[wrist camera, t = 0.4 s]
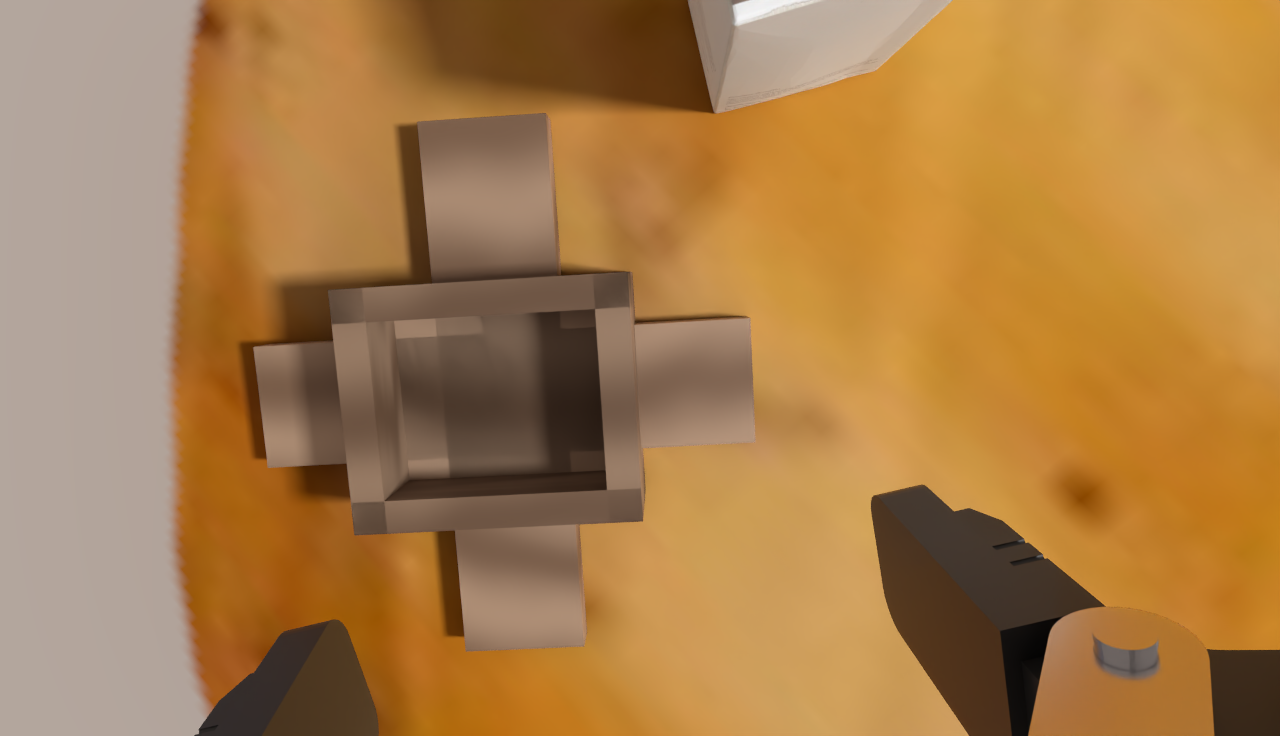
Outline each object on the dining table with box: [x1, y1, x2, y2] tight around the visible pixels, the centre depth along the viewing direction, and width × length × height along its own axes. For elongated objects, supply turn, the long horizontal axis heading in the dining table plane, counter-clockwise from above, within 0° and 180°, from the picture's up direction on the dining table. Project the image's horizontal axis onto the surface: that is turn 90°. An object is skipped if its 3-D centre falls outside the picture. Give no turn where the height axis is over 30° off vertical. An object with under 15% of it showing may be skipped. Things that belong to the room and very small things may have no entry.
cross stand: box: [253, 113, 755, 651], centre depth 36 cm, size 26×24×5 cm
